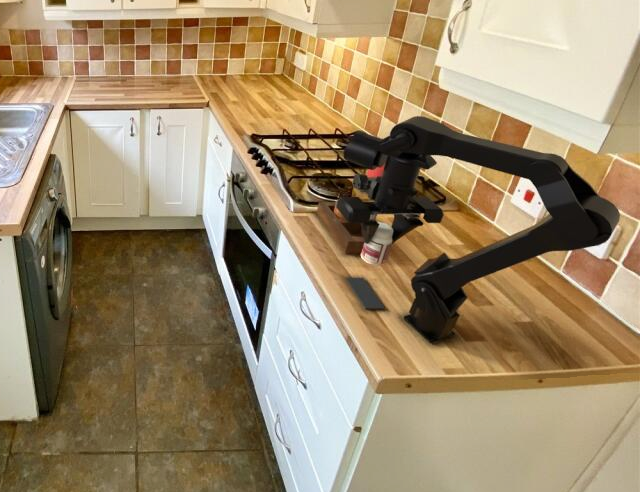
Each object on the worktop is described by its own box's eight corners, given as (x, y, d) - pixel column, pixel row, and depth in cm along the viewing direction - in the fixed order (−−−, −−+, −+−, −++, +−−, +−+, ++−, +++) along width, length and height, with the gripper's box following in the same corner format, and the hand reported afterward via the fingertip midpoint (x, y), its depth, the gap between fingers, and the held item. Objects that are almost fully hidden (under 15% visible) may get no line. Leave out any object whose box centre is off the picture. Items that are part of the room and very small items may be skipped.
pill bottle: (377, 251, 92) (387, 220, 88) (389, 266, 87) (400, 234, 84) (355, 251, 91) (365, 220, 88) (367, 266, 87) (377, 234, 84)
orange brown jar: (354, 227, 113) (360, 208, 110) (339, 230, 112) (344, 211, 109) (341, 217, 117) (346, 198, 114) (326, 220, 116) (331, 200, 113)
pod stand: (348, 213, 119) (352, 201, 117) (382, 254, 103) (387, 241, 101) (315, 213, 119) (318, 202, 117) (344, 254, 103) (348, 241, 101)
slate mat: (384, 309, 87) (384, 308, 87) (365, 309, 87) (365, 308, 87) (363, 278, 95) (363, 277, 95) (345, 278, 95) (346, 277, 95)
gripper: (419, 160, 88) (399, 220, 95) (332, 160, 88) (318, 220, 95) (457, 187, 78) (431, 252, 85) (358, 187, 78) (340, 252, 85)
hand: (377, 242), depth 87 cm, fingers closed on pill bottle, 5 cm apart
